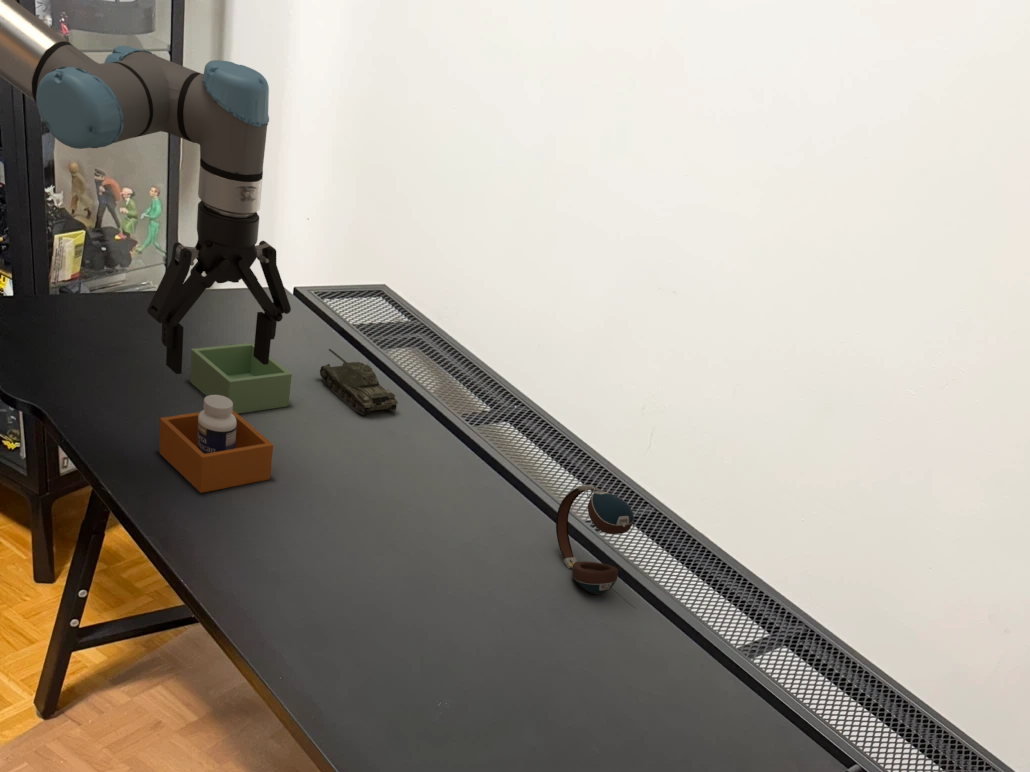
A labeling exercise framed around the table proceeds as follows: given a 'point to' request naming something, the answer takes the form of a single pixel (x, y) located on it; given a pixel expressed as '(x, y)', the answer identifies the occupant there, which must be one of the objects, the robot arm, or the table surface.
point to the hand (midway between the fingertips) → (218, 364)
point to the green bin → (240, 377)
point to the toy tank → (357, 386)
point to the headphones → (608, 518)
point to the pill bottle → (216, 425)
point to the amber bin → (215, 454)
